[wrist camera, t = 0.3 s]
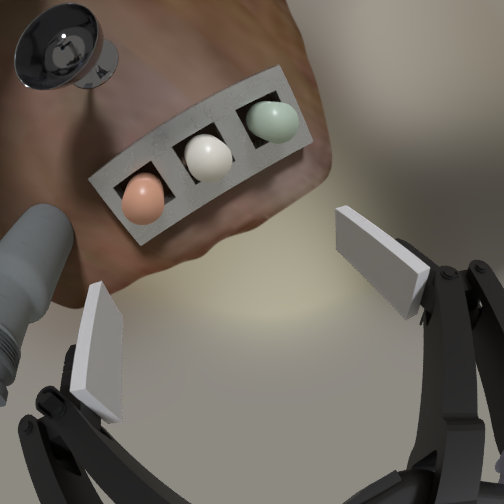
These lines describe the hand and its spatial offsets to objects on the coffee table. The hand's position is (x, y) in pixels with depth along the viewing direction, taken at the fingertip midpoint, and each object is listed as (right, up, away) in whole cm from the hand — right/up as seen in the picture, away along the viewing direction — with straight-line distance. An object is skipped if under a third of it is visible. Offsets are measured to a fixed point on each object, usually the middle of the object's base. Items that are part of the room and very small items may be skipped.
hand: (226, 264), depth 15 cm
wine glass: (-19, +24, +11) cm, 33 cm away
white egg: (-5, +13, +19) cm, 24 cm away
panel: (-6, +14, +21) cm, 26 cm away
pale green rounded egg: (+3, +18, +19) cm, 26 cm away
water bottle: (-29, +4, +19) cm, 36 cm away
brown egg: (-12, +8, +19) cm, 25 cm away
